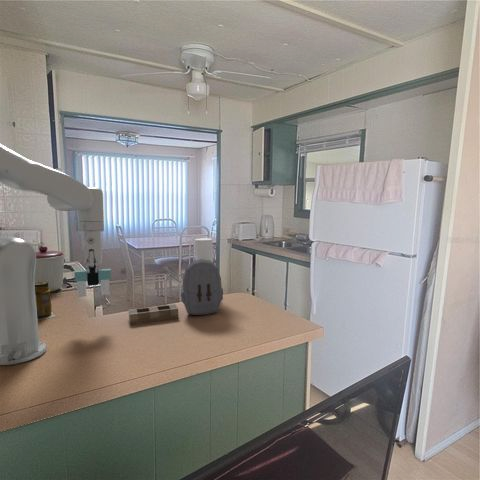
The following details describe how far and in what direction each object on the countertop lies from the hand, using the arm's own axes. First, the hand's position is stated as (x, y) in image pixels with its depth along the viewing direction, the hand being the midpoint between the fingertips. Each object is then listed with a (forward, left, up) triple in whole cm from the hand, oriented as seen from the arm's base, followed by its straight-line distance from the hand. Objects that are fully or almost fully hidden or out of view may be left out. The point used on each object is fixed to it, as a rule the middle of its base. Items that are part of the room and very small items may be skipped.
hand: (93, 283), depth 110 cm
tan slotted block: (0, -18, -15) cm, 23 cm away
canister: (+61, +23, -15) cm, 67 cm away
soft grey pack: (-2, -36, -15) cm, 38 cm away
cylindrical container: (+17, -41, -15) cm, 47 cm away
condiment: (+19, +18, -15) cm, 31 cm away
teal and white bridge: (0, 0, -4) cm, 4 cm away
